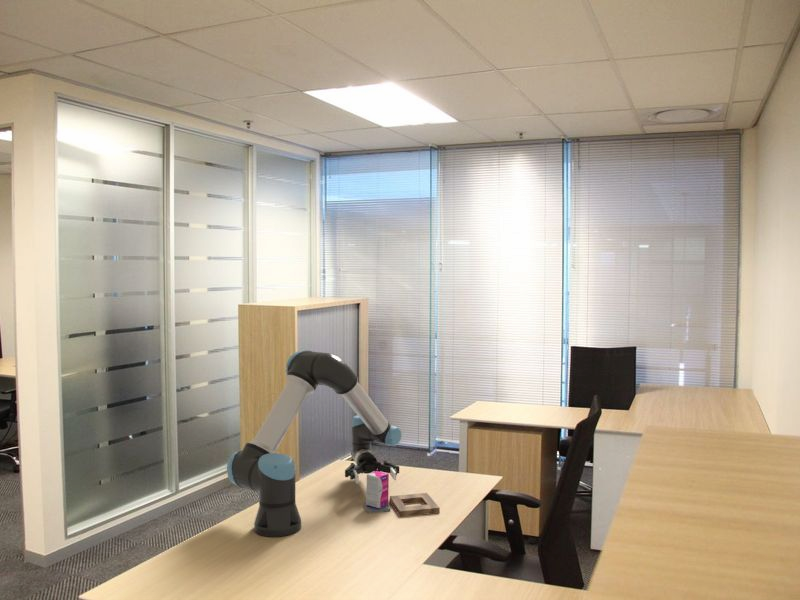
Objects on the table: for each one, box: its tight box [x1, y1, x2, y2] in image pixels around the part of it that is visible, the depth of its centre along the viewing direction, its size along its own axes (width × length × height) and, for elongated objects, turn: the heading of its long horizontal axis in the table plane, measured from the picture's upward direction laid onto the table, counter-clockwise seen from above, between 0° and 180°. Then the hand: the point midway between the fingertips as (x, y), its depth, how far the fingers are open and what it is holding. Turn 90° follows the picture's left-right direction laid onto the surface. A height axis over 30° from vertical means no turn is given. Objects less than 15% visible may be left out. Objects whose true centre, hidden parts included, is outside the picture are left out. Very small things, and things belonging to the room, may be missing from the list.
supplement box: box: [365, 471, 390, 509], centre depth 245 cm, size 6×6×12 cm
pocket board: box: [389, 492, 440, 517], centre depth 246 cm, size 14×16×2 cm
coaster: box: [363, 502, 391, 514], centre depth 245 cm, size 8×8×1 cm
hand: (376, 478), depth 247 cm, fingers open, 13 cm apart
